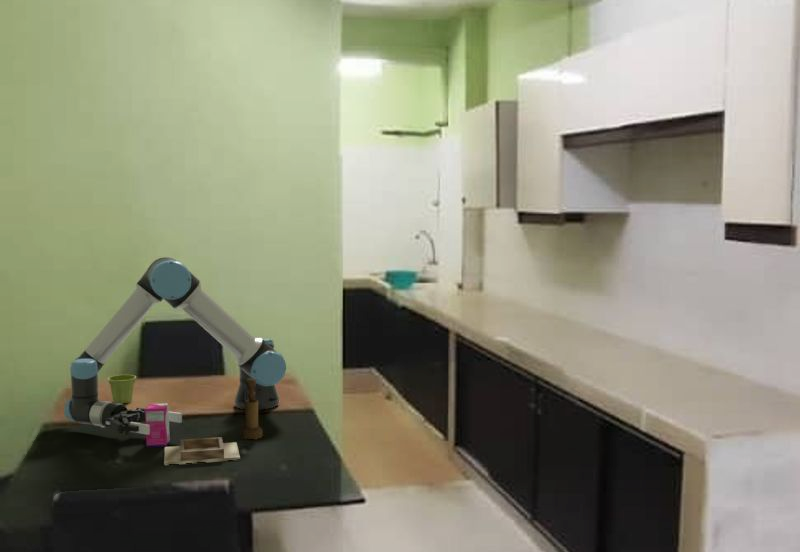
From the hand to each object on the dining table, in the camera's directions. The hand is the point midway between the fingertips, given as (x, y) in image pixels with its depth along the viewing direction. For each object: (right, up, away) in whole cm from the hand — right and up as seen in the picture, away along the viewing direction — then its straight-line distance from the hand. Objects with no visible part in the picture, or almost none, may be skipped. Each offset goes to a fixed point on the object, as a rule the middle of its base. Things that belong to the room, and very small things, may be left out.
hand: (165, 423), depth 237 cm
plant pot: (-29, -1, +49) cm, 57 cm away
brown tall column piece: (+23, -6, +10) cm, 26 cm away
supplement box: (-3, -7, +2) cm, 7 cm away
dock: (+12, -7, -7) cm, 16 cm away
